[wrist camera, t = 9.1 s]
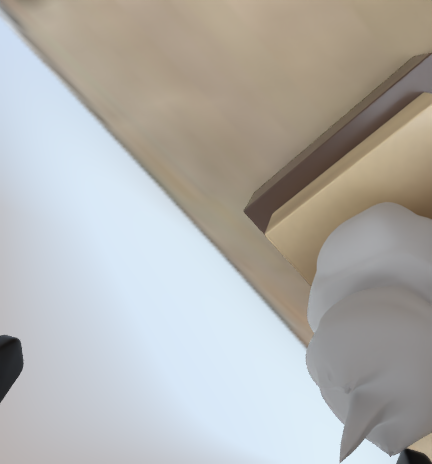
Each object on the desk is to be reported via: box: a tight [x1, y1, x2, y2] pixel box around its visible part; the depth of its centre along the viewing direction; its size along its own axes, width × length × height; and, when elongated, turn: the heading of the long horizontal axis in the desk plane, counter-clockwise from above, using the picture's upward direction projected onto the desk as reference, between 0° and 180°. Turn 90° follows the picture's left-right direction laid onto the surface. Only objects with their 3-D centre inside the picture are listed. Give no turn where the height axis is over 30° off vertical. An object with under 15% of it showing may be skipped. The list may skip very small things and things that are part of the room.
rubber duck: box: [306, 202, 432, 462], centre depth 10 cm, size 5×7×8 cm
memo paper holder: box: [244, 53, 432, 287], centre depth 16 cm, size 9×9×6 cm
